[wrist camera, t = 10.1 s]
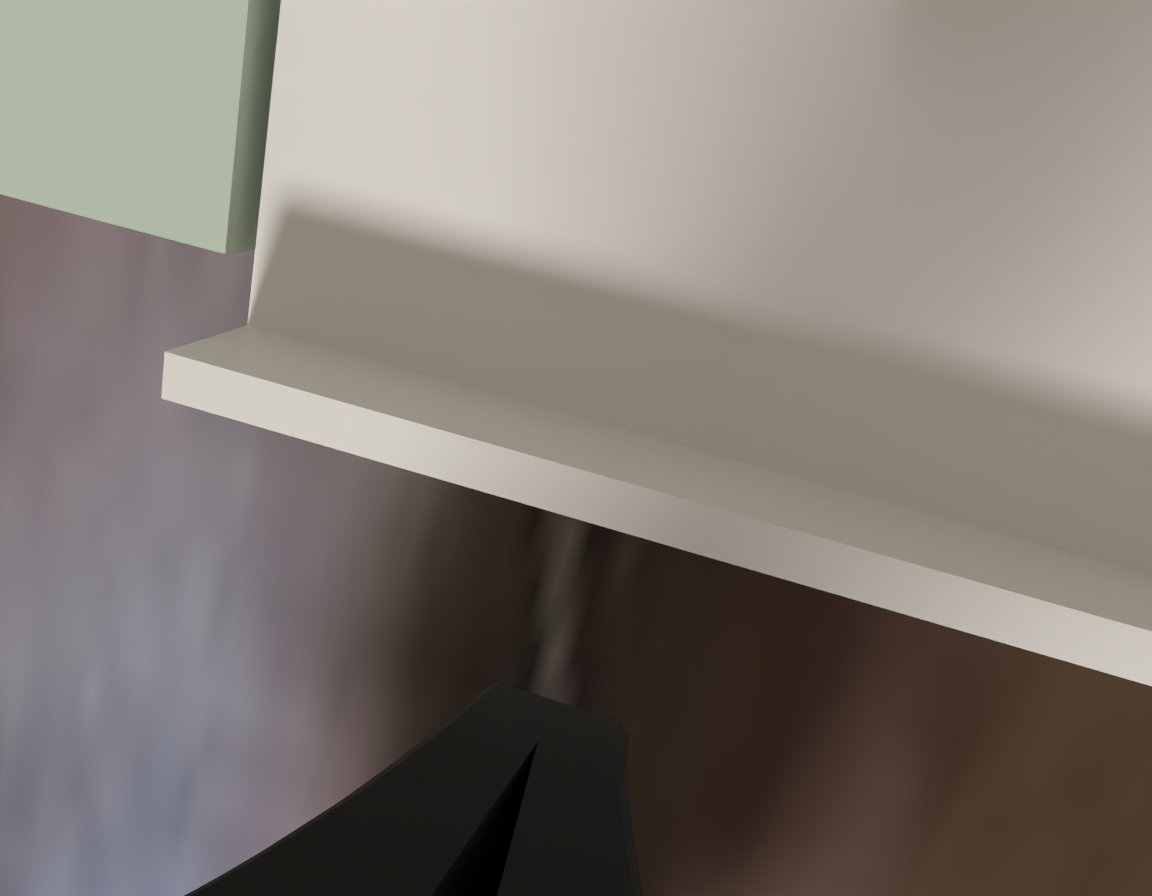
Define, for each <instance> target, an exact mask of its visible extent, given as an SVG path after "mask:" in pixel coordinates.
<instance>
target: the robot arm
mask: <svg viewBox="0 0 1152 896" xmlns="http://www.w3.org/2000/svg"><path fill="white" fill-rule="evenodd" d="M628 742H629V734H628V733H627V731H626V729H625V727H624V726H623V724H622V722H620V721H617V720H614V719H611V718H608V717H605V716H601V715H598V714H595V713H592V712H589V711H586V710H582V709H579V708H576V707H573V706H570V705H567V704H563V703H560V702H557V701H554V700H551V699H548V698H545V697H541V696H538V695H535V694H532V693H529V692H526V691H522V690H519V689H516V688H513V687H510V686H507V685H504V684H500V683H496V684H494V685H492V686H489V687H487V688H485V689H484V690H482V691H481V692H480V693H479V694H478V695H477V696H476V697H475V698H474V699H473V700H471V701H470V702H469V703H468V704H467V705H466V706H464V707H463V708H462V709H461V710H460V711H459V712H457V713H456V714H455V715H454V716H453V717H452V718H450V719H449V720H448V721H447V722H446V723H444V724H443V725H442V726H441V727H439V728H438V729H437V730H436V731H434V732H433V733H432V734H431V735H429V736H428V737H427V738H426V739H424V740H423V741H422V742H420V743H419V744H418V745H417V746H415V747H414V748H413V749H412V750H410V751H409V752H408V753H406V754H405V755H404V756H402V757H401V758H399V759H398V760H397V761H395V762H394V763H393V764H391V765H390V766H388V767H387V768H386V769H384V770H383V771H382V772H380V773H379V774H377V775H376V776H375V777H373V778H372V779H371V780H369V781H368V782H366V783H365V784H364V785H362V786H361V787H360V788H358V789H357V790H355V791H354V792H353V793H351V794H350V795H348V796H347V797H345V798H344V799H343V800H341V801H340V802H338V803H337V804H335V805H334V806H332V807H331V808H329V809H327V810H326V811H324V812H323V813H321V814H320V815H318V816H317V817H315V818H313V819H312V820H310V821H309V822H307V823H306V824H304V825H302V826H301V827H299V828H298V829H296V830H295V831H293V832H292V833H290V834H288V835H287V836H285V837H284V838H282V839H281V840H279V841H278V842H276V843H274V844H273V845H271V846H270V847H268V848H267V849H265V850H263V851H262V852H260V853H258V854H257V855H255V856H253V857H252V858H250V859H248V860H247V861H245V862H243V863H242V864H240V865H238V866H236V867H235V868H233V869H231V870H230V871H228V872H226V873H224V874H223V875H221V876H219V877H217V878H216V879H214V880H212V881H210V882H208V883H207V884H205V885H203V886H201V887H200V888H198V889H196V890H194V891H192V892H190V893H188V894H187V895H185V896H643V895H642V889H641V884H640V878H639V872H638V867H637V861H636V856H635V849H634V842H633V835H632V827H631V818H630V807H629V797H628V781H627V753H628Z"/></svg>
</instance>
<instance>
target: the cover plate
mask: <svg viewBox="0 0 1152 896" xmlns="http://www.w3.org/2000/svg"><path fill="white" fill-rule="evenodd" d="M280 4H281V0H0V194H2V195H5V196H9V197H13V198H17V199H20V200H24V201H28V202H32V203H35V204H39V205H43V206H47V207H50V208H54V209H58V210H62V211H65V212H69V213H73V214H77V215H80V216H84V217H88V218H92V219H95V220H99V221H103V222H107V223H110V224H114V225H118V226H122V227H125V228H129V229H133V230H137V231H140V232H144V233H148V234H152V235H155V236H159V237H163V238H167V239H170V240H174V241H178V242H182V243H185V244H189V245H193V246H197V247H200V248H204V249H208V250H212V251H215V252H219V253H223V254H229V253H234V252H240V251H246V250H251V249H255V246H256V237H257V227H258V217H259V208H260V198H261V188H262V179H263V169H264V159H265V149H266V140H267V130H268V120H269V111H270V101H271V91H272V82H273V72H274V62H275V53H276V43H277V33H278V23H279V14H280Z"/></svg>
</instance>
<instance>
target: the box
mask: <svg viewBox="0 0 1152 896" xmlns="http://www.w3.org/2000/svg"><path fill="white" fill-rule="evenodd" d="M161 398H162V399H165V400H168V401H172V402H175V403H179V404H182V405H186V406H189V407H193V408H196V409H199V410H203V411H206V412H210V413H213V414H217V415H220V416H224V417H227V418H230V419H234V420H237V421H241V422H244V423H248V424H251V425H255V426H258V427H261V428H265V429H268V430H272V431H275V432H279V433H282V434H286V435H289V436H292V437H296V438H299V439H303V440H306V441H310V442H313V443H316V444H320V445H323V446H327V447H330V448H334V449H337V450H341V451H344V452H347V453H351V454H354V455H358V456H361V457H365V458H368V459H372V460H375V461H378V462H382V463H385V464H389V465H392V466H396V467H399V468H403V469H406V470H409V471H413V472H416V473H420V474H423V475H427V476H430V477H434V478H437V479H440V480H444V481H447V482H451V483H454V484H458V485H461V486H464V487H468V488H471V489H475V490H478V491H482V492H485V493H489V494H492V495H495V496H499V497H502V498H506V499H509V500H513V501H516V502H520V503H523V504H526V505H530V506H533V507H537V508H540V509H544V510H547V511H551V512H554V513H557V514H561V515H564V516H568V517H571V518H575V519H578V520H582V521H585V522H588V523H592V524H595V525H599V526H602V527H606V528H609V529H613V530H616V531H619V532H623V533H626V534H630V535H633V536H637V537H640V538H643V539H647V540H650V541H654V542H657V543H661V544H664V545H668V546H671V547H674V548H678V549H681V550H685V551H688V552H692V553H695V554H699V555H702V556H705V557H709V558H712V559H716V560H719V561H723V562H726V563H730V564H733V565H736V566H740V567H743V568H747V569H750V570H754V571H757V572H761V573H764V574H767V575H771V576H774V577H778V578H781V579H785V580H788V581H791V582H795V583H798V584H802V585H805V586H809V587H812V588H816V589H819V590H822V591H826V592H829V593H833V594H836V595H840V596H843V597H847V598H850V599H853V600H857V601H860V602H864V603H867V604H871V605H874V606H878V607H881V608H884V609H888V610H891V611H895V612H898V613H902V614H905V615H909V616H912V617H915V618H919V619H922V620H926V621H929V622H933V623H936V624H940V625H943V626H946V627H950V628H953V629H957V630H960V631H964V632H967V633H970V634H974V635H977V636H981V637H984V638H988V639H991V640H995V641H998V642H1001V643H1005V644H1008V645H1012V646H1015V647H1019V648H1022V649H1026V650H1029V651H1032V652H1036V653H1039V654H1043V655H1046V656H1050V657H1053V658H1057V659H1060V660H1063V661H1067V662H1070V663H1074V664H1077V665H1081V666H1084V667H1088V668H1091V669H1094V670H1098V671H1101V672H1105V673H1108V674H1112V675H1115V676H1118V677H1122V678H1125V679H1129V680H1132V681H1136V682H1139V683H1143V684H1146V685H1149V686H1152V0H281V4H280V14H279V23H278V33H277V43H276V53H275V62H274V72H273V82H272V91H271V101H270V111H269V120H268V130H267V140H266V149H265V159H264V169H263V179H262V188H261V198H260V208H259V217H258V227H257V237H256V246H255V256H254V266H253V275H252V285H251V295H250V305H249V314H248V324H247V326H244V327H240V328H237V329H234V330H231V331H228V332H225V333H222V334H218V335H215V336H212V337H209V338H206V339H203V340H200V341H197V342H193V343H190V344H187V345H184V346H181V347H178V348H175V349H171V350H168V351H165V355H164V369H163V382H162V396H161Z"/></svg>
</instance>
